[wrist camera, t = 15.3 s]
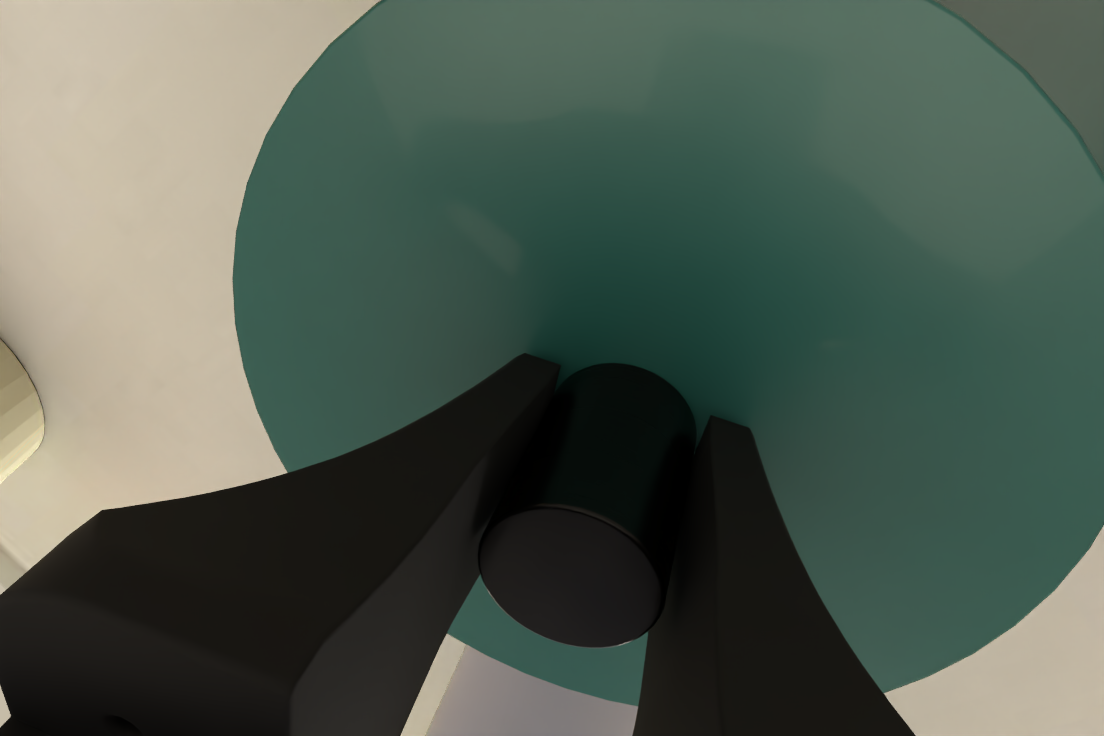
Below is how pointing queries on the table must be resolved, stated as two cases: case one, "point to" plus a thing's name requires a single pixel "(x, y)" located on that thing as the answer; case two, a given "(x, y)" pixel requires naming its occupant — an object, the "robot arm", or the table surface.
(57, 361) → the table surface
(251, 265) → the tin lid
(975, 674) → the table surface
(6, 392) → the reusable coffee cup
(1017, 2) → the lunch tin
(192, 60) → the table surface
